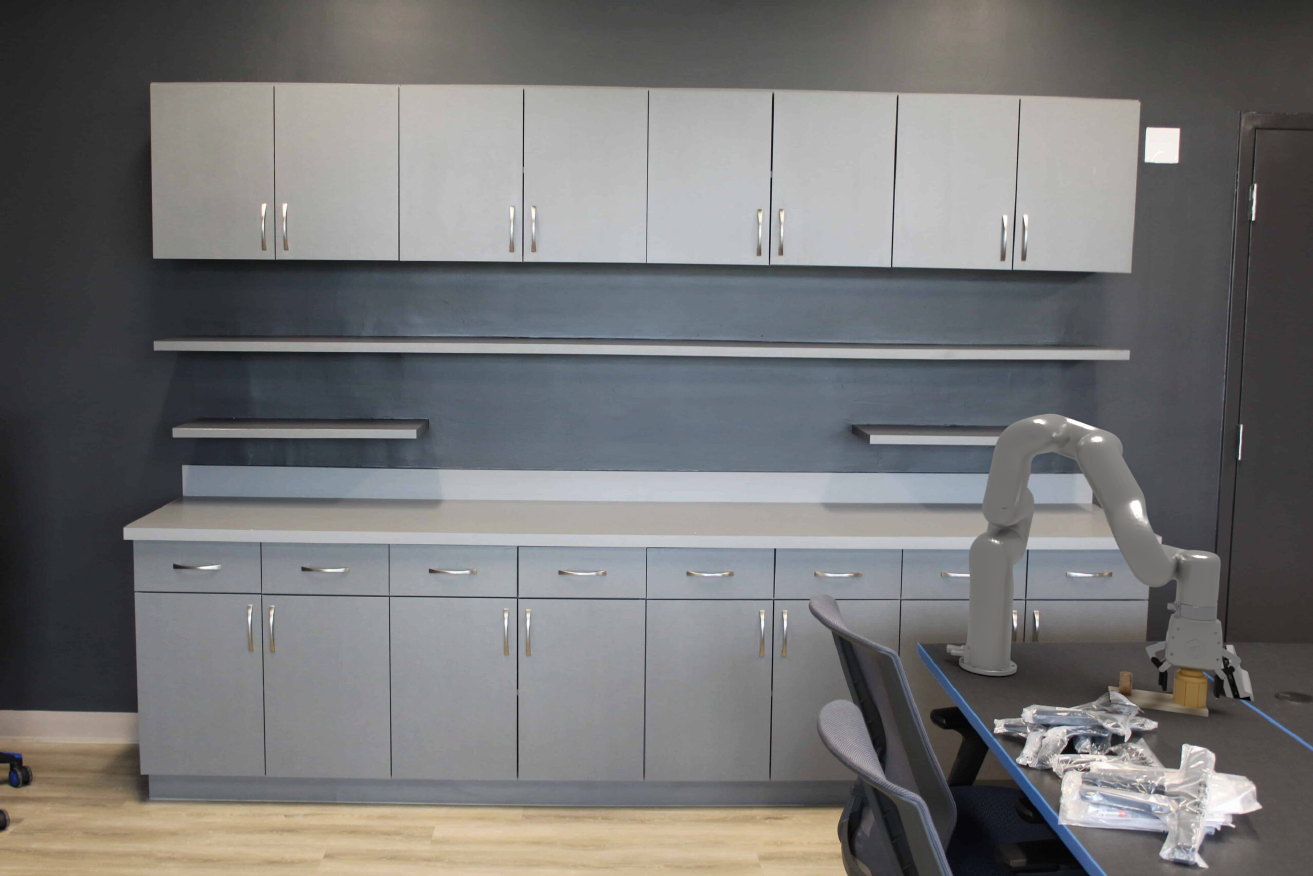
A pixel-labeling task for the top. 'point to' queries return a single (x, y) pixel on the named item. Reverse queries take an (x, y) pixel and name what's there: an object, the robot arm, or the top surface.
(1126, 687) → the post left
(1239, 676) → the hinge
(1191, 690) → the cap
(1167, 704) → the plate
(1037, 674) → the top surface
